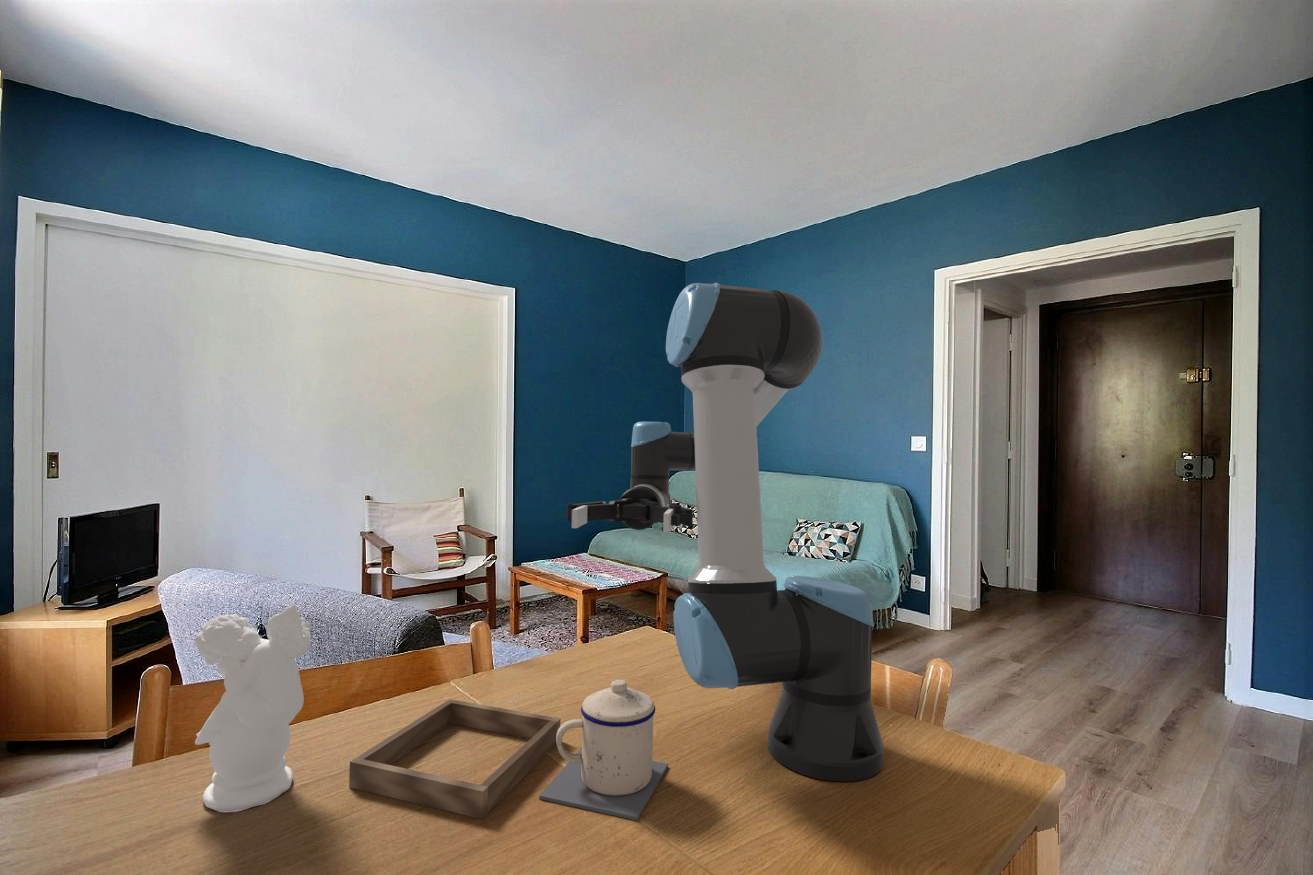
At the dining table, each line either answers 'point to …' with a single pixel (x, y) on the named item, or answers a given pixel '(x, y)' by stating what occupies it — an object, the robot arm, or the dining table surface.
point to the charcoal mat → (577, 794)
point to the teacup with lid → (614, 740)
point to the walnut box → (448, 793)
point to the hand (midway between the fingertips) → (619, 521)
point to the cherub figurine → (252, 707)
